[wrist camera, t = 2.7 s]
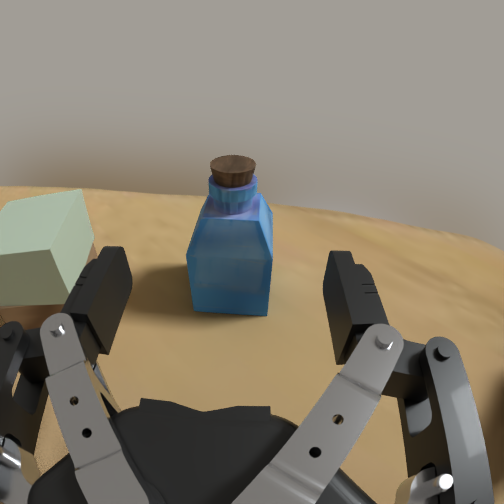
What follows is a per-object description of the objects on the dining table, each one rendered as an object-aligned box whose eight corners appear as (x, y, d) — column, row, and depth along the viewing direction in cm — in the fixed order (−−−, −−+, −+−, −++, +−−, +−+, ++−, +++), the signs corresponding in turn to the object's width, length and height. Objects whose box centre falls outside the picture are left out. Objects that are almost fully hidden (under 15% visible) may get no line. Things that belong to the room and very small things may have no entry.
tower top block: (-5, 306, 19) (-32, 258, 16) (24, 245, 25) (7, 201, 22) (73, 303, 20) (50, 249, 17) (94, 237, 26) (81, 189, 23)
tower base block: (22, 346, 22) (-4, 309, 19) (38, 285, 28) (20, 248, 25) (98, 340, 24) (78, 300, 20) (104, 276, 30) (91, 236, 26)
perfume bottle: (267, 316, 26) (279, 186, 19) (193, 311, 27) (177, 182, 19) (268, 267, 31) (277, 150, 24) (205, 263, 31) (197, 147, 24)
